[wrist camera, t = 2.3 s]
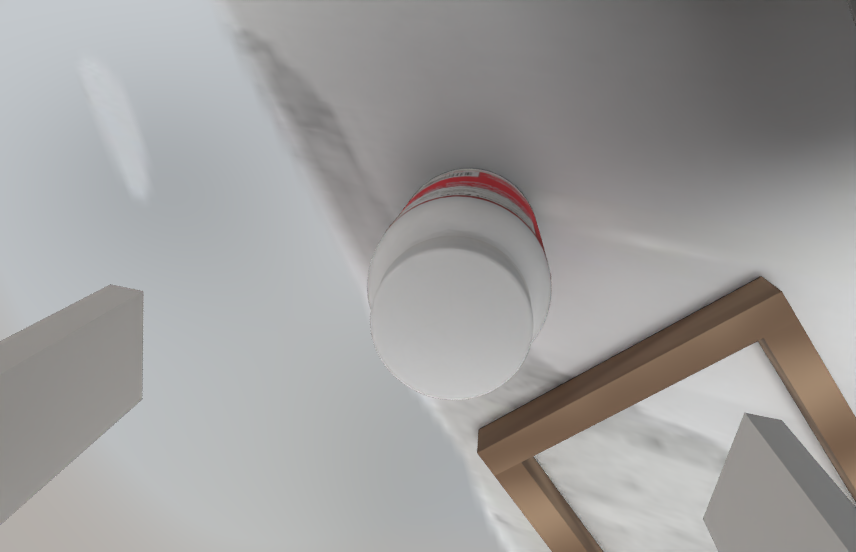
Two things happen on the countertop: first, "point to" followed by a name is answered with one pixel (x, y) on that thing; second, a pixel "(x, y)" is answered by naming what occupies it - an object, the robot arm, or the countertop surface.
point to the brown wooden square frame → (652, 372)
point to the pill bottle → (459, 286)
